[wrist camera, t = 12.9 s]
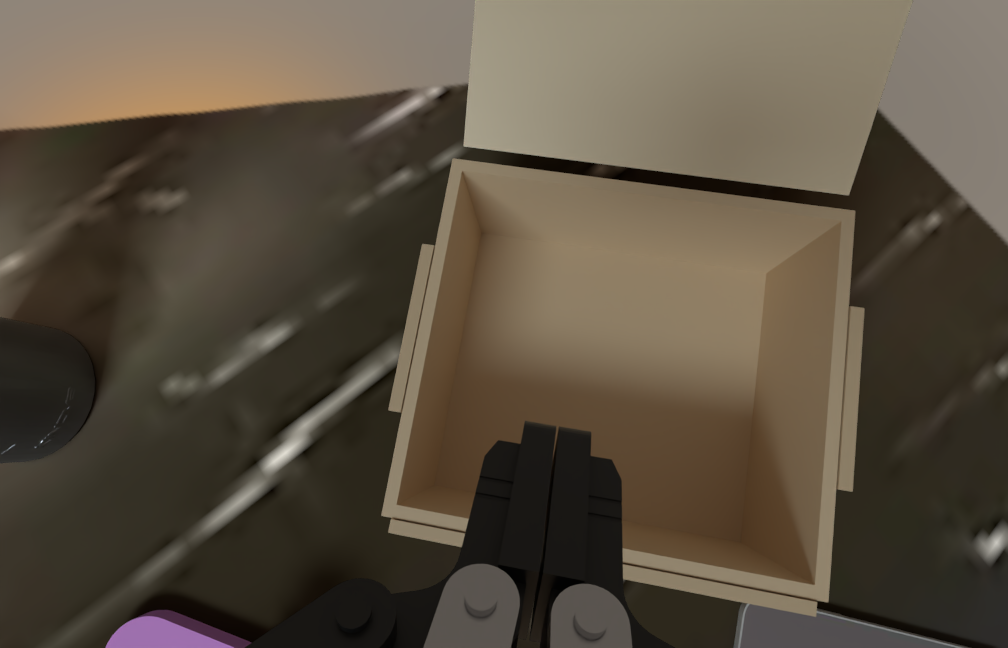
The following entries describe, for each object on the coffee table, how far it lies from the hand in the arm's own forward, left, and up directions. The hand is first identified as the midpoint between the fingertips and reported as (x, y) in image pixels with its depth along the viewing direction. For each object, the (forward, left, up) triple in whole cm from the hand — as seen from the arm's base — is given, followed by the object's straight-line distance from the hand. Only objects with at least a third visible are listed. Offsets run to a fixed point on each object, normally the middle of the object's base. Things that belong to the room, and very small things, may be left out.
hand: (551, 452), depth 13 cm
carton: (+2, +5, -24) cm, 24 cm away
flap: (-2, +18, -11) cm, 21 cm away
